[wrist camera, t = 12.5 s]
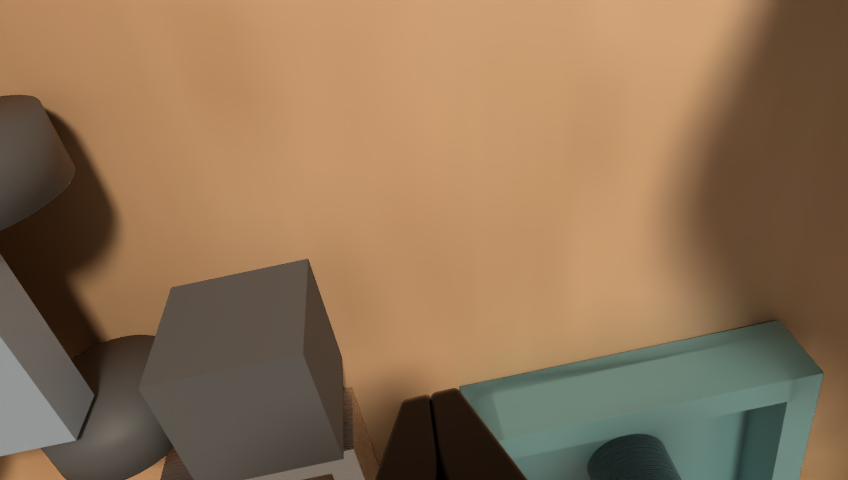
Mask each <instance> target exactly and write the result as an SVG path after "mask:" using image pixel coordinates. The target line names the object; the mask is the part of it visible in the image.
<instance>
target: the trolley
mask: <svg viewBox="0 0 848 480" xmlns="http://www.w3.org/2000/svg"><path fill="white" fill-rule="evenodd" d="M74 175H75V166H74V164H73V162H72V160H71V158H70V156H69V154H68V152H67V151H66V149H65V147H64V145H63V143H62V141H61V139H60V138H59V136H58V134H57V132H56V130H55V128H54V126H53V125H52V123H51V121H50V119H49V117H48V115H47V113H46V112H45V110H44V108H43V106H42V104H41V102H40V100H38V99H37V98H35V97H33V96H27V95H10V96H1V97H0V231H1V230H3V229H5V228H8V227H10V226H12V225H13V224H15V223H17V222H19V221H21V220H23V219H25V218H26V217H28V216H30V215H32V214H33V213H35V212H36V211H38V210H40V209H41V208H43V207H44V206H45V205H47V204H48V203H50V202H51V201H52V200H54V199H55V198H56V197H57V196H58V195H59V194H61V193H62V192H63V191H64V190H65V189H66V187H67V186H68V185H69V184H70V182H71V181H72V179H73V177H74ZM154 339H155V336H149V335H132V336H125V337H120V338H116V339H113V340H110V341H107V342H104V343H101V344H99V345H97V346H94V347H92V348H90V349H88V350H86V351H84V352H83V353H81V354H79V355H77V356H76V357H74V358H73V359H70V358H69V356H68V355H67V353H66V352H65V350H64V349H63V347H62V346H61V344H60V343H59V341H58V340H57V338H56V337H55V335H54V334H53V332H52V331H51V329H50V328H49V326H48V325H47V323H46V322H45V320H44V319H43V317H42V316H41V314H40V313H39V311H38V310H37V308H36V307H35V305H34V304H33V302H32V301H31V299H30V298H29V296H28V295H27V293H26V292H25V290H24V289H23V287H22V286H21V284H20V283H19V281H18V280H17V278H16V277H15V275H14V274H13V272H12V271H11V269H10V268H9V266H8V265H7V263H6V262H5V260H4V259H3V257H2V256H1V254H0V456H4V455H9V454H14V453H19V452H23V451H28V450H33V449H38V448H41V449H42V450H43V452H44V453H45V454H46V456H47V457H48V458H49V459H50V461H51V462H52V463H53V464H54V466H55V467H56V468H57V470H58V471H59V472H60V473H61V475H62V476H63V477H64V478H65V479H67V480H125V479H128V478H130V477H132V476H135V475H137V474H139V473H141V472H142V471H144V470H146V469H148V468H149V467H151V466H152V465H154V464H155V463H157V462H158V461H159V460H161V459H162V458H163V457H164V456H166V455H167V454H168V453H169V452H170V451H171V450H172V449H173V448H174V447H173V445H172V443H171V442H170V440H169V438H168V437H167V435H166V433H165V432H164V430H163V428H162V427H161V425H160V423H159V422H158V420H157V419H156V417H155V415H154V414H153V412H152V410H151V409H150V407H149V405H148V404H147V402H146V400H145V399H144V397H143V396H142V394H141V392H140V391H139V389H138V388H139V385H140V382H141V379H142V376H143V373H144V370H145V367H146V364H147V361H148V357H149V354H150V351H151V348H152V345H153V342H154Z"/></svg>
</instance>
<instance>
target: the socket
mask: <svg viewBox="0 0 848 480" xmlns="http://www.w3.org/2000/svg"><path fill="white" fill-rule="evenodd" d="M343 448H344V459H341V460H336V461H332V462H327V463H322V464H317V465H312V466H308V467H303V468H298V469H293V470H289V471H284V472H279V473H274V474H270V475H265V476H260V477H255V478H251V479H246V480H304V479H308V478H313V477H318V476H323V475H328V474H332V476H333V478H334V480H375V478H376V475H377V472H378V469H379V466H378V463H377V460H376V457H375V454H374V451H373V448H372V445H371V442H370V439H369V437H368V434H367V431H366V428H365V425H364V422H363V419H362V416H361V413H360V410H359V407H358V404H357V402H356V399H355V396H354V393H353V390H352V388H348V389H343ZM160 480H194V479H193V478H192V476H191V474H190V473H189V471H188V470H187V468H186V466H185V465H184V463H183V461H182V460H181V458H180V456H179V455H178V453H177V451H176V450H175V448H173V449H172V450H171V451H170V452H169V453H168V454H167V456H166V460H165V464H164V467H163V471H162V475H161V479H160Z"/></svg>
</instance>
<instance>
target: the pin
mask: <svg viewBox="0 0 848 480" xmlns="http://www.w3.org/2000/svg"><path fill="white" fill-rule="evenodd" d="M587 472H588V475H589V477H590V480H682V479H681V477H680V475H679V473H678V471H677V469H676V467H675V465H674V463H673V461H672V459H671V458H670V456H669V454H668V452H667V450H666V448H665V446H664V444H663V443H662V441H661V440H659V439H658V438H656V437H654V436H651V435H647V434H630V435H626V436H621V437H618V438H615V439H613V440H610V441H608V442H607V443H605V444H603V445H602V446H601V447H599V448H598V449H597V450H596V451H595V452H594V453H593V454H592V456H591V457H590V459H589V461H588V465H587Z"/></svg>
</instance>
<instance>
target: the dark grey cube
mask: <svg viewBox="0 0 848 480" xmlns="http://www.w3.org/2000/svg"><path fill="white" fill-rule="evenodd" d="M138 389H139V391H140V392H141V394H142V396H143V397H144V399H145V400H146V402H147V404H148V405H149V407H150V409H151V410H152V412H153V414H154V415H155V417H156V419H157V420H158V422H159V423H160V425H161V427H162V428H163V430H164V432H165V433H166V435H167V437H168V438H169V440H170V442H171V443H172V445H173V447H174V448H175V450H176V451H177V453H178V455H179V456H180V458H181V460H182V461H183V463H184V465H185V466H186V468H187V470H188V471H189V473H190V474H191V476H192V478H193V479H194V480H246V479H251V478H255V477H260V476H265V475H270V474H274V473H279V472H284V471H289V470H293V469H298V468H303V467H308V466H312V465H317V464H322V463H327V462H332V461H336V460H341V459H344V448H343V384H342V356H341V353H340V350H339V348H338V345H337V342H336V339H335V336H334V333H333V330H332V327H331V324H330V321H329V318H328V315H327V313H326V310H325V307H324V304H323V301H322V298H321V295H320V292H319V289H318V286H317V283H316V280H315V277H314V275H313V272H312V269H311V266H310V263H309V260H308V259H305V260H300V261H296V262H291V263H286V264H281V265H277V266H272V267H267V268H262V269H258V270H253V271H248V272H243V273H239V274H234V275H229V276H224V277H220V278H215V279H210V280H205V281H201V282H196V283H191V284H186V285H182V286H177V287H172V288H171V291H170V294H169V297H168V300H167V303H166V306H165V309H164V312H163V315H162V318H161V321H160V324H159V327H158V330H157V333H156V336H155V339H154V342H153V345H152V348H151V351H150V354H149V357H148V361H147V364H146V367H145V370H144V373H143V376H142V379H141V382H140V385H139V388H138Z"/></svg>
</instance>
